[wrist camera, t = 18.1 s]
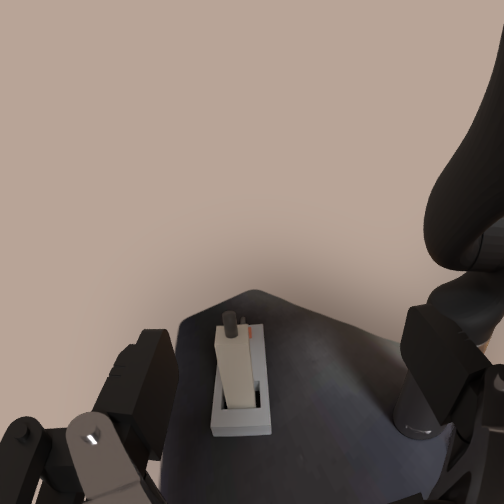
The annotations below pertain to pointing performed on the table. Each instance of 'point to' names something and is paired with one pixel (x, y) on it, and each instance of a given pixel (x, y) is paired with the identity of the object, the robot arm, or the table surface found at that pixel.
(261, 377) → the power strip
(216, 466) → the table surface
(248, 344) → the plug
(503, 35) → the robot arm
